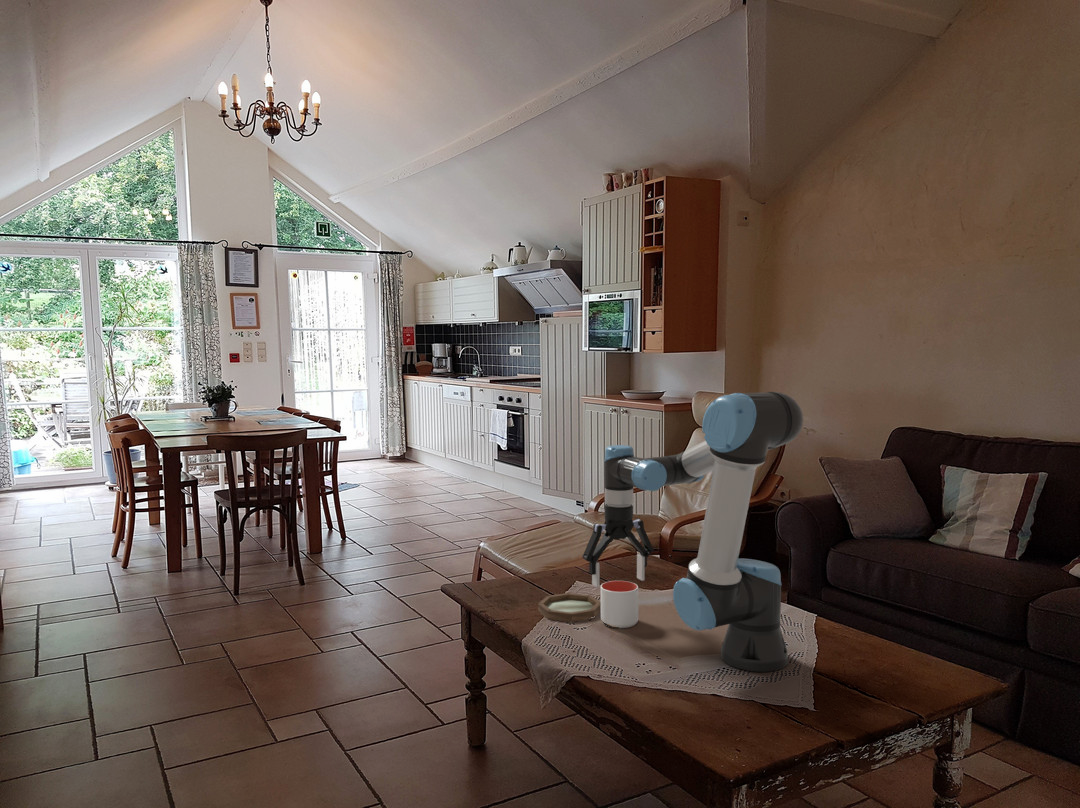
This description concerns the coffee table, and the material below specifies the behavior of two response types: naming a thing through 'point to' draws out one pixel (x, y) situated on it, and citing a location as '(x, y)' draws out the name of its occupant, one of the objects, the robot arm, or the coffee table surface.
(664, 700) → the coffee table surface
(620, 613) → the cup
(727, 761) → the coffee table surface
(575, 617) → the tray
